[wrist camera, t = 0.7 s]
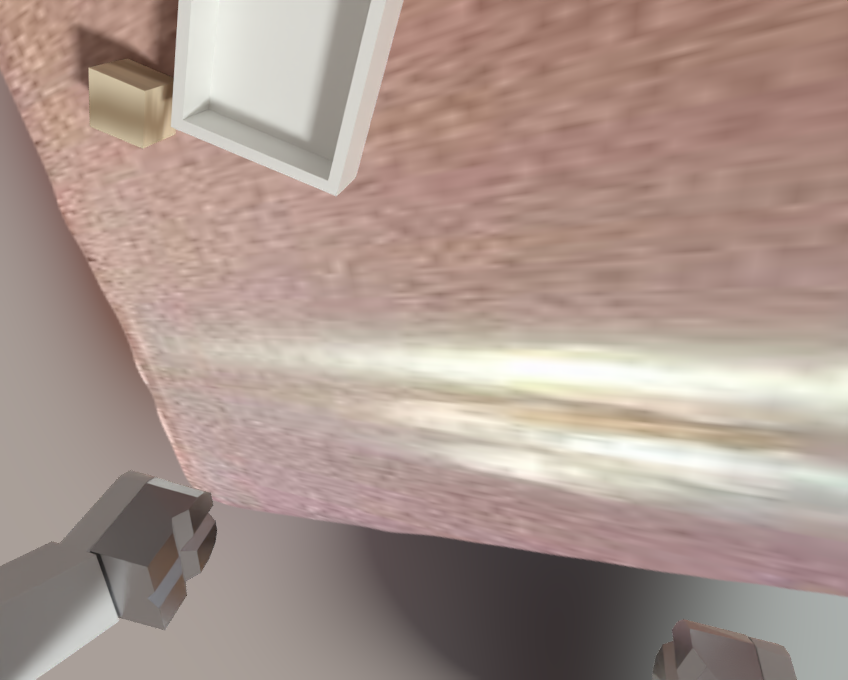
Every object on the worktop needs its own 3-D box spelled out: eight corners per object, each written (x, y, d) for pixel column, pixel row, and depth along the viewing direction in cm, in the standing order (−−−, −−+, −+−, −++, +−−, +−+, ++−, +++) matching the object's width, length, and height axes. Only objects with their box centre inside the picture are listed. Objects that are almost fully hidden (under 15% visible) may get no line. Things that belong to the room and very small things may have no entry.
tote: (227, -147, 42) (188, -157, 38) (421, -66, 42) (403, -67, 38) (202, 113, 53) (170, 126, 49) (355, 177, 53) (336, 196, 49)
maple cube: (127, 58, 52) (88, 67, 48) (179, 80, 52) (144, 91, 48) (126, 113, 55) (89, 126, 51) (175, 133, 55) (143, 148, 51)
